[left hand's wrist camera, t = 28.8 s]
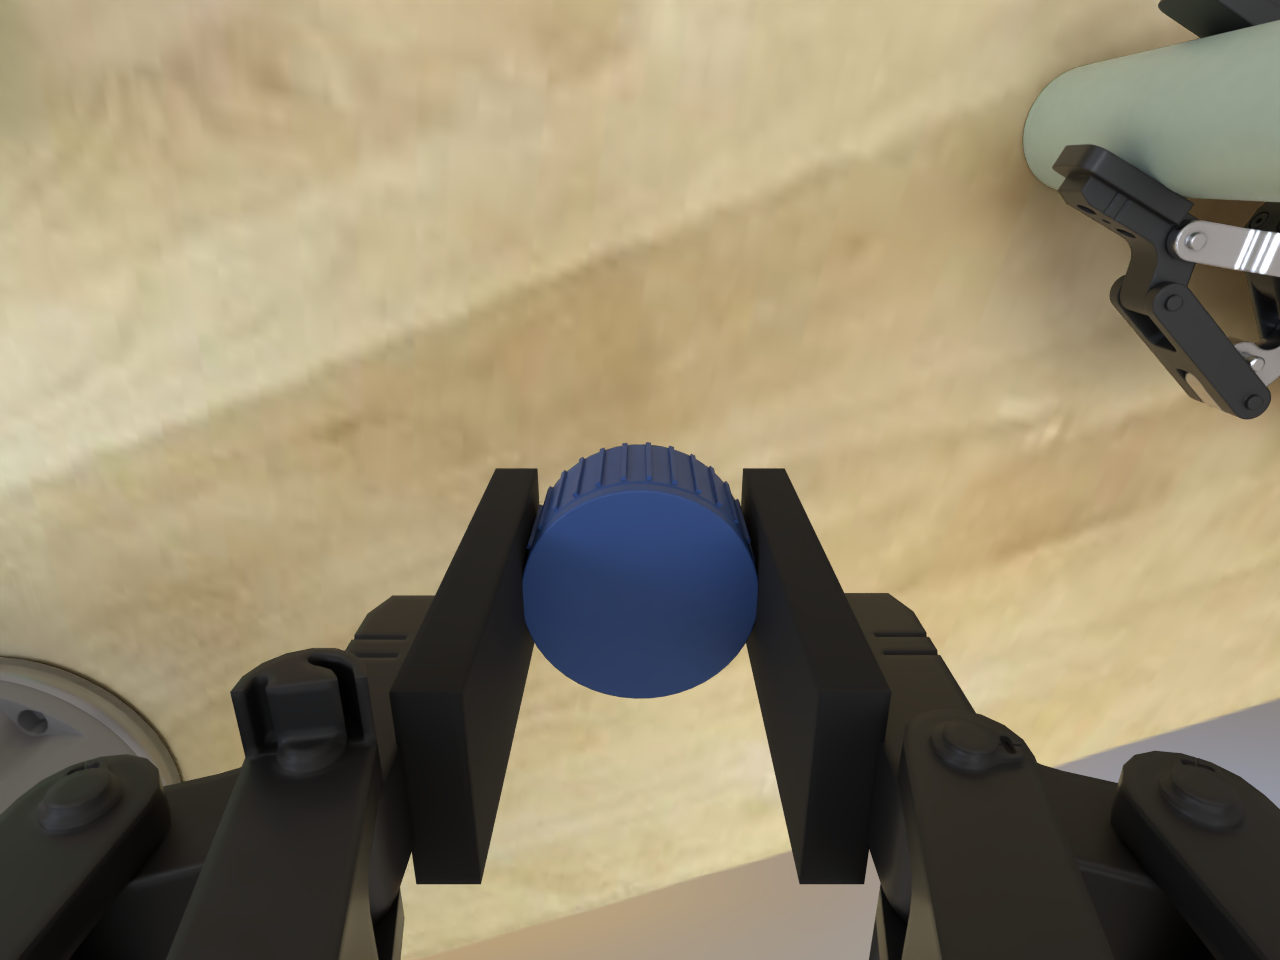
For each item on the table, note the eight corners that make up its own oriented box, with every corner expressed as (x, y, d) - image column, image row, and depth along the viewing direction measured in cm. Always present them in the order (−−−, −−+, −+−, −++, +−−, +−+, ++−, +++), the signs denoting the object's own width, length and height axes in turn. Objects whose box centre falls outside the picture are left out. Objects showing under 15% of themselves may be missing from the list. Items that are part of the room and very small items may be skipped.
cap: (548, 422, 14) (532, 467, 12) (768, 460, 14) (790, 510, 12) (521, 613, 15) (503, 683, 13) (721, 644, 15) (733, 717, 13)
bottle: (1164, 120, 30) (1907, 49, 12) (1073, 216, 31) (1632, 274, 14) (1088, 37, 29) (1785, -167, 11) (998, 140, 30) (1500, 98, 13)
